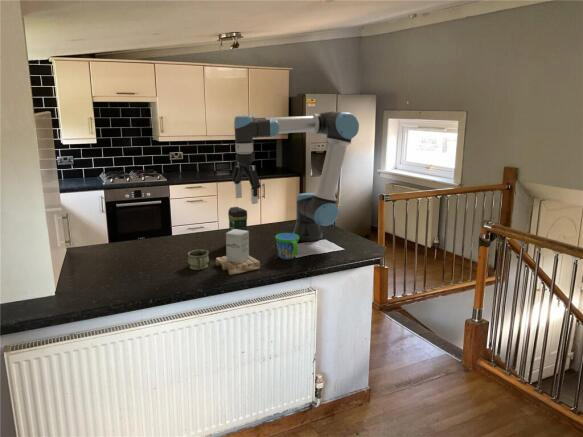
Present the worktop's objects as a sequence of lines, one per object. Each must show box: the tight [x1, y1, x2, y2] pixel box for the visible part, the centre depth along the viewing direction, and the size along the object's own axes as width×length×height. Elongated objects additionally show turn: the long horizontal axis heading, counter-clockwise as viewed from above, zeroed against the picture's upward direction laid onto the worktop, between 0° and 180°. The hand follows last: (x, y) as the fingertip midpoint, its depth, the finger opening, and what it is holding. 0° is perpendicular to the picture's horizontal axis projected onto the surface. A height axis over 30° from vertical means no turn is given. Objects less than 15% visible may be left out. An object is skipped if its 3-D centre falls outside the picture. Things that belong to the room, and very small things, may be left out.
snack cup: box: [274, 232, 300, 261], centre depth 209 cm, size 16×10×10 cm
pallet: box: [215, 255, 261, 276], centre depth 198 cm, size 14×14×3 cm
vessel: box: [187, 249, 210, 271], centre depth 198 cm, size 12×9×6 cm
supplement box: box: [225, 229, 250, 263], centre depth 196 cm, size 7×7×13 cm
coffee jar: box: [227, 206, 248, 232], centre depth 225 cm, size 10×8×19 cm
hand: (246, 200), depth 205 cm, fingers open, 13 cm apart
